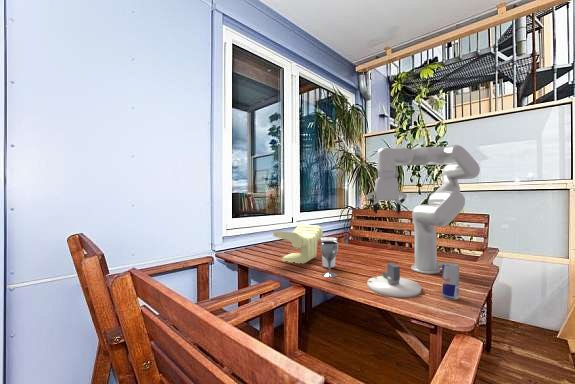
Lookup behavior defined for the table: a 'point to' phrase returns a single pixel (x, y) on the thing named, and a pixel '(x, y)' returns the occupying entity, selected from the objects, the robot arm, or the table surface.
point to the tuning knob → (392, 273)
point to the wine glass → (329, 254)
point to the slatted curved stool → (302, 242)
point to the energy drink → (450, 281)
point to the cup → (323, 256)
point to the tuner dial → (394, 287)
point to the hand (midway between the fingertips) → (386, 213)
